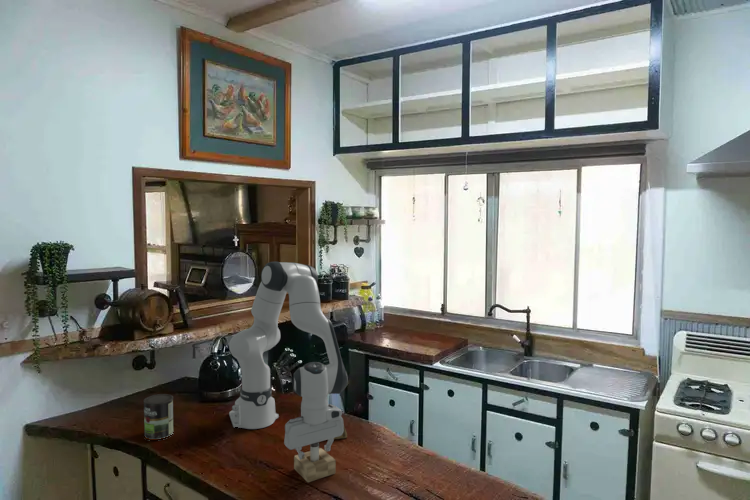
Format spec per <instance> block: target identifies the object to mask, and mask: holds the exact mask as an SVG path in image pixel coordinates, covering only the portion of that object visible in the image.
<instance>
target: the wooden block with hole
mask: <svg viewBox="0 0 750 500" xmlns="http://www.w3.org/2000/svg"><path fill="white" fill-rule="evenodd" d="M304 453H305V456H304V457H305V458H304V459H301V460H300V459H299V457H298V454H295V455H294V457H293V470H295V471H296V473H298V474H299V475H300V477H302V478H303V480H305V481H306V482H307V483H311V482H314V481H317V480H320V479H323V478H325V477H329V476H332V475H335V474H336V462H337V461H336V459H335V458H334V457H333V456H331V455H330V454H329V453H328V452H326V451H325V450H324V449H323V448H322V447H319V460H318V461H315V462H311V461H310V450H309V451H306V452H304Z"/></svg>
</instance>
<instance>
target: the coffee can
mask: <svg viewBox="0 0 750 500" xmlns="http://www.w3.org/2000/svg"><path fill="white" fill-rule="evenodd" d="M143 416H144V417H143V418H144V422H143V423H144V424H143V425H144V429H143V430H144V436H145V437H146V438H149V439H161V438H165V437H168V436H170V435H172V434H173V435H174V433H173V432H174V396H173V395H171V394H170V393H169V394H167V393H158V394H153V395H149V396H147V397H145V398H144V399H143ZM173 435H172V436H173ZM170 437H171V436H170Z"/></svg>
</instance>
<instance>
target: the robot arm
mask: <svg viewBox="0 0 750 500" xmlns="http://www.w3.org/2000/svg"><path fill="white" fill-rule="evenodd" d="M260 280H261V281H260V282H259V285H258V288H257V291H256V294H255V297H254V300H253V304H252V305H251V306H252V307H251V310H250V312H251V314H252V316H253V323H252V325H251V327H248V328H246V329H244V330H241V331H239V332H237V333H236V334H235V335H233V336H232V337H230V340H229V342H228V349H229V353H230V354H231V355H232V356H233V357H234V358H236V360H237V361H238V363H239V367H240V371H241V388H240V393H239V394H240V395H239V397H238V398H237V399H236V400H235V401H234V405H232V406H231V409H232V410H231V411H229V413H228V415H229V418H230V421H231V424H232V427H233V428H235V427H238V428H237V429H239V428H240V429H241V428H242V429H247V430H257V429H263V428H267V427H270V426H271V425H272V424H274V423H275V421H276V420H277V419H279V417H280V416H279V413H277V412H276V402H275V398H274V397H273V396H272V391H273V390H272V386H271V368H270V366H269V365H268V364H267V363H265V361H264V356H263V355H264V352H267V351H269V350H272V349H273V348H274V347H276V345H277V344H278V343H279V342H280V340H281V330H280V329H279V327H278V326H279V325H278V324H279V318H280V314H281V312H282V308H283V305H284V302H285V299H286V295H287V294H288V304H289V305H288V306H289V315H290V316H289V317H290V321H291V323H292V324H293V325H294V326H295V327H296V328H297V329H298V330H301V331H302V332H306V333H309V334H311V335H315V336H317V337H318V338H321V339H322V340H323V342H324V346H325V350H326V353H327V357H328V362H329V363H328V364H324V363H322V362H319V361H318V362H317V361H312V362H311V361H310V362H308V363H305V364H304V365H303V366H301V367H298V368H297V369H296V370H295V371H294V373H293V374H292V375H293V392H295V394H297V395H298V396H299V397H302V398H301V403H300V416H298V417H295V418H291V419H289V420H288V421H287V422H286V423H285V425H284V431H285V432H284V441H283V444H284V445H285V447H286V448H287V449H288V450H290V451H292V450H295V451H296V452H297V453H298V454H297V455H298V457H299V459H300V460H301V459H304V458H305V457H304V456H305V452H304V451H302V449H303V447H306V446H310V444H313V443H317V442H319V443H320V442H324V441H326V440H327V442H326V443H325V444H324V446H323V447H324V449H323V450H324V451H325V452H327V453H328V452H330V451H331V446H332V445H333V443H334V440H335V439H334V438H335V437H338V436H341V435H342V434H343V432H344V427H345V425H344V418H343V417H342V415H343V411H342V410H341V409H340V408H339V407H337V406H336V405H334V404H331V403H329V400H328V394H329V395H337V394H341V393H342V392H343V391H344V390H345V389H346V387H347V386H348V378H349V377H348V372H347V370H346V368H345V364H344V362H343V358H342V356H341V351H340V347H339V343H338V339H337V335H336V332H335V329H334V325H333V323H332V321H331V320H330V319H329V318H328V317H326V316H325V314H324V313H323V310H322V307H321V298H320V291H319V287H318V281H319V275H318V271H317V269H316V268H315V267H313V266H311V265H308V264H303V263H297V262H286V261H284V262H283V261H282V262H281V261H280V262H279V261H269V262H266V264H265V265H264V267H263V268H262V269H261V273H260Z"/></svg>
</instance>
